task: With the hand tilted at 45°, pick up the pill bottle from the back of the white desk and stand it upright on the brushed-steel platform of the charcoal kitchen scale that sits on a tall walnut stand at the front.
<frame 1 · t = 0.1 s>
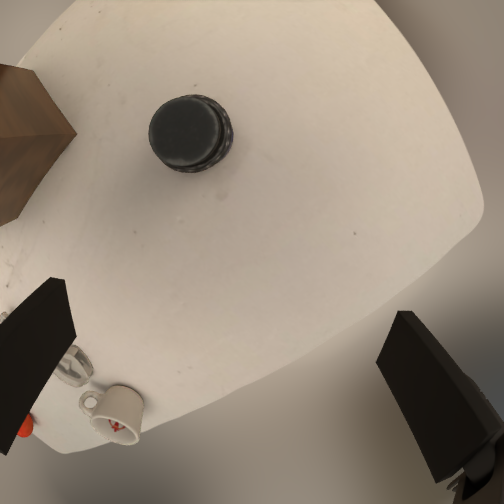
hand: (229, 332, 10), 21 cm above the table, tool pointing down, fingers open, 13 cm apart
cup: (118, 391, 40), on the table
apple: (25, 412, 45), on the table
pill bottle: (203, 136, 27), on the table
zipper pull: (48, 341, 36), on the table
stand: (19, 144, 25), on the table
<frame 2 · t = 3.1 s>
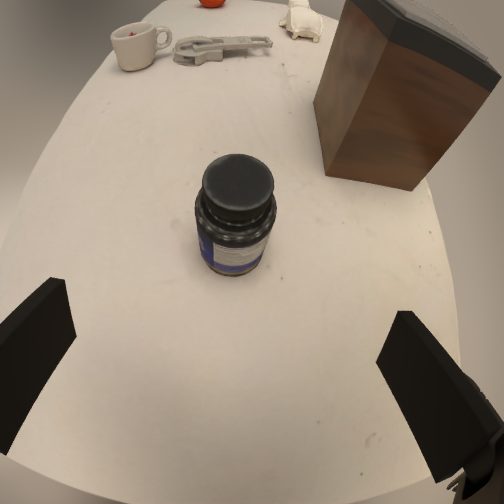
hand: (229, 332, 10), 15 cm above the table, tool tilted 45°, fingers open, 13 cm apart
cup: (145, 63, 41), on the table
apple: (211, 6, 57), on the table
pill bottle: (231, 249, 28), on the table
zipper pull: (221, 55, 44), on the table
scale: (417, 34, 19), resting on stand
white turtle figurine: (298, 31, 52), on the table
stand: (361, 142, 37), on the table
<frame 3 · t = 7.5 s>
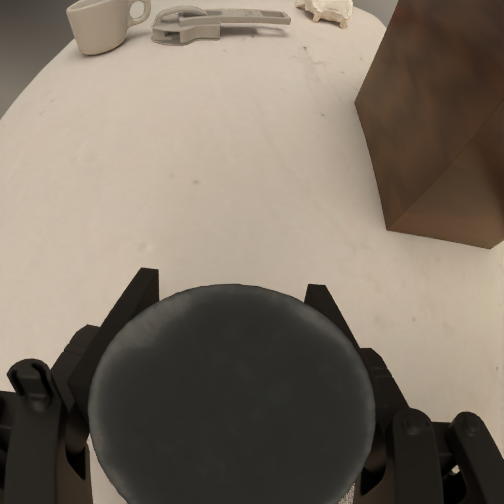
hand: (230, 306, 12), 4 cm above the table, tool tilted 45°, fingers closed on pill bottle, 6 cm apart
cup: (114, 44, 27), on the table
pill bottle: (222, 388, 14), on the table, touching gripper
zipper pull: (219, 33, 29), on the table
white turtle figurine: (319, 14, 38), on the table
stand: (427, 169, 22), on the table
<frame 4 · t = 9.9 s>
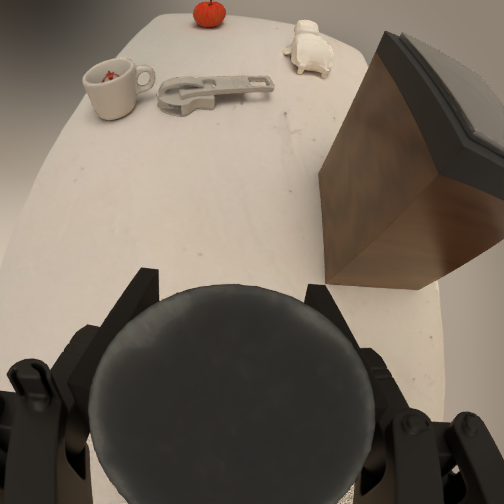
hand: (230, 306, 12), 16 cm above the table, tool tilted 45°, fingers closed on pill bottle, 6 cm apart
cup: (125, 108, 38), on the table
apple: (208, 26, 54), on the table
pill bottle: (222, 388, 14), point 12 cm above the table, touching gripper
zipper pull: (214, 99, 40), on the table
scale: (463, 123, 16), resting on stand
white turtle figurine: (304, 62, 50), on the table
stand: (370, 229, 34), on the table
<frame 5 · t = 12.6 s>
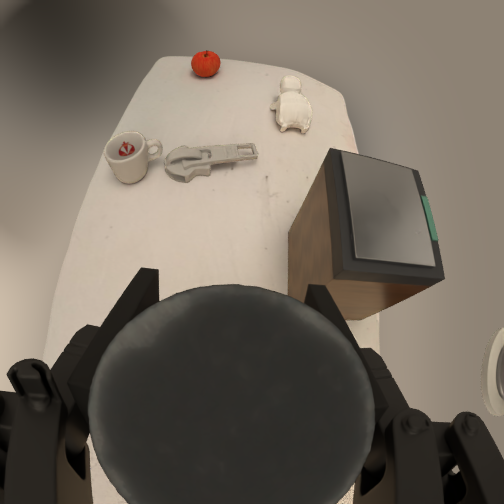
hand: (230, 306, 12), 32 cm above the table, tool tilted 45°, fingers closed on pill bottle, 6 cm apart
cup: (139, 171, 52), on the table
apple: (205, 74, 69), on the table
pill bottle: (222, 388, 14), point 28 cm above the table, touching gripper
zipper pull: (210, 164, 55), on the table
scale: (379, 221, 31), resting on stand
white turtle figurine: (288, 116, 64), on the table
stand: (324, 275, 48), on the table
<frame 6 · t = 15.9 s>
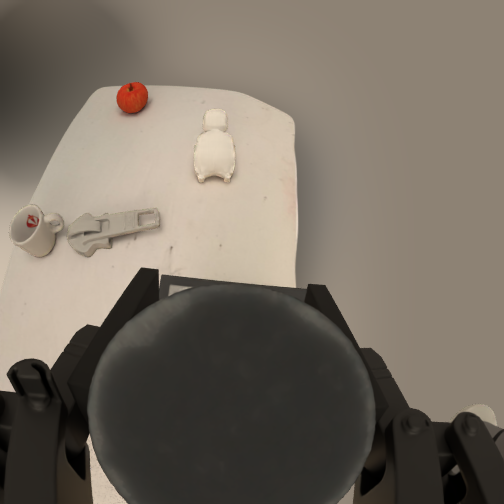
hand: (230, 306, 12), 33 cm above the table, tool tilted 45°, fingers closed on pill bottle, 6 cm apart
cup: (50, 241, 45), on the table
apple: (134, 108, 61), on the table
pill bottle: (222, 387, 14), point 29 cm above the table, touching gripper
zipper pull: (114, 233, 47), on the table
scale: (229, 372, 23), resting on stand
white turtle figurine: (214, 159, 56), on the table
when the fingers open (26 cm above the table, at t = 18.2 s): pill bottle stays where it is, resting on scale.
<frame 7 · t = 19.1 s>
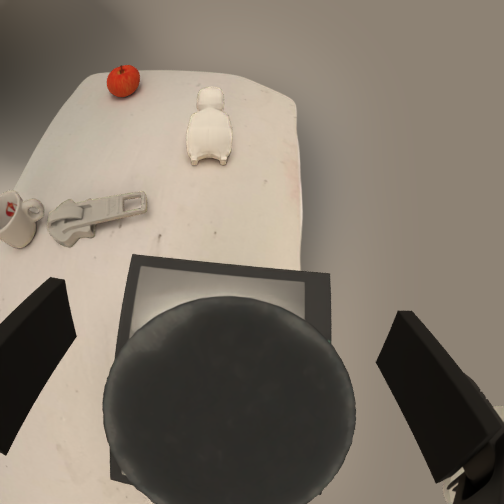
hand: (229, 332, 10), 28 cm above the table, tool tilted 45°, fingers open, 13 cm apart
cup: (30, 231, 39), on the table
apple: (125, 93, 55), on the table
pill bottle: (221, 387, 14), point 22 cm above the table, touching scale
zipper pull: (97, 221, 41), on the table
scale: (221, 384, 17), resting on stand
white turtle figurine: (209, 141, 51), on the table
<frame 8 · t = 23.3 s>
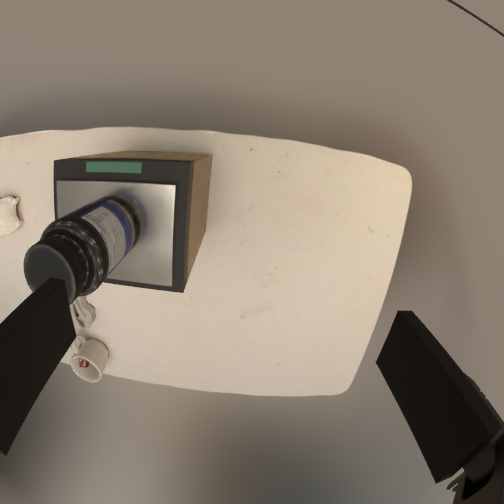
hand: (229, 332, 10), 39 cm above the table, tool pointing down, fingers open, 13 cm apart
cup: (94, 343, 57), on the table
pill bottle: (110, 227, 25), point 22 cm above the table, touching scale
zipper pull: (73, 289, 52), on the table
scale: (122, 219, 28), resting on stand
white turtle figurine: (5, 212, 45), on the table
stand: (164, 190, 46), on the table
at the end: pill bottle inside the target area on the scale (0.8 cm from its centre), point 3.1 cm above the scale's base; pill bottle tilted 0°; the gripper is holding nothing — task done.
